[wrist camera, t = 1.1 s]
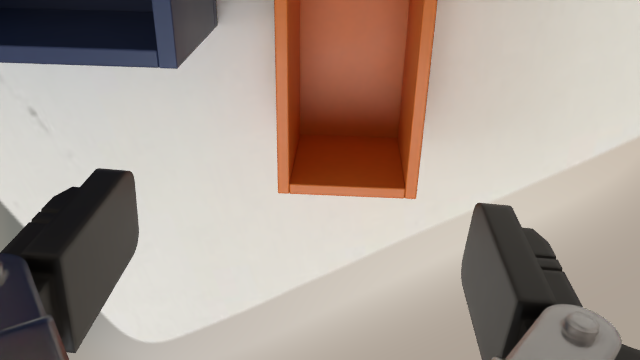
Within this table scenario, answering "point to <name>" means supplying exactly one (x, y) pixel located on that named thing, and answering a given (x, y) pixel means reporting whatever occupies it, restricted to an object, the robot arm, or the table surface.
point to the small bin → (351, 95)
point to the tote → (104, 31)
